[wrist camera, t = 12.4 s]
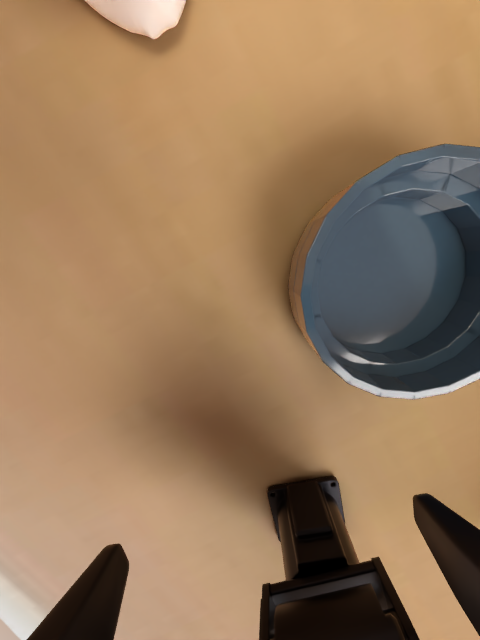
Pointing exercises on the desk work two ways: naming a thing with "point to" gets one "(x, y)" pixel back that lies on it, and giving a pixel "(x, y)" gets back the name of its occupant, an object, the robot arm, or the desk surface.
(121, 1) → the skull planter
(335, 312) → the bowl
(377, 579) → the robot arm
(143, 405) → the desk surface
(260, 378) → the desk surface
